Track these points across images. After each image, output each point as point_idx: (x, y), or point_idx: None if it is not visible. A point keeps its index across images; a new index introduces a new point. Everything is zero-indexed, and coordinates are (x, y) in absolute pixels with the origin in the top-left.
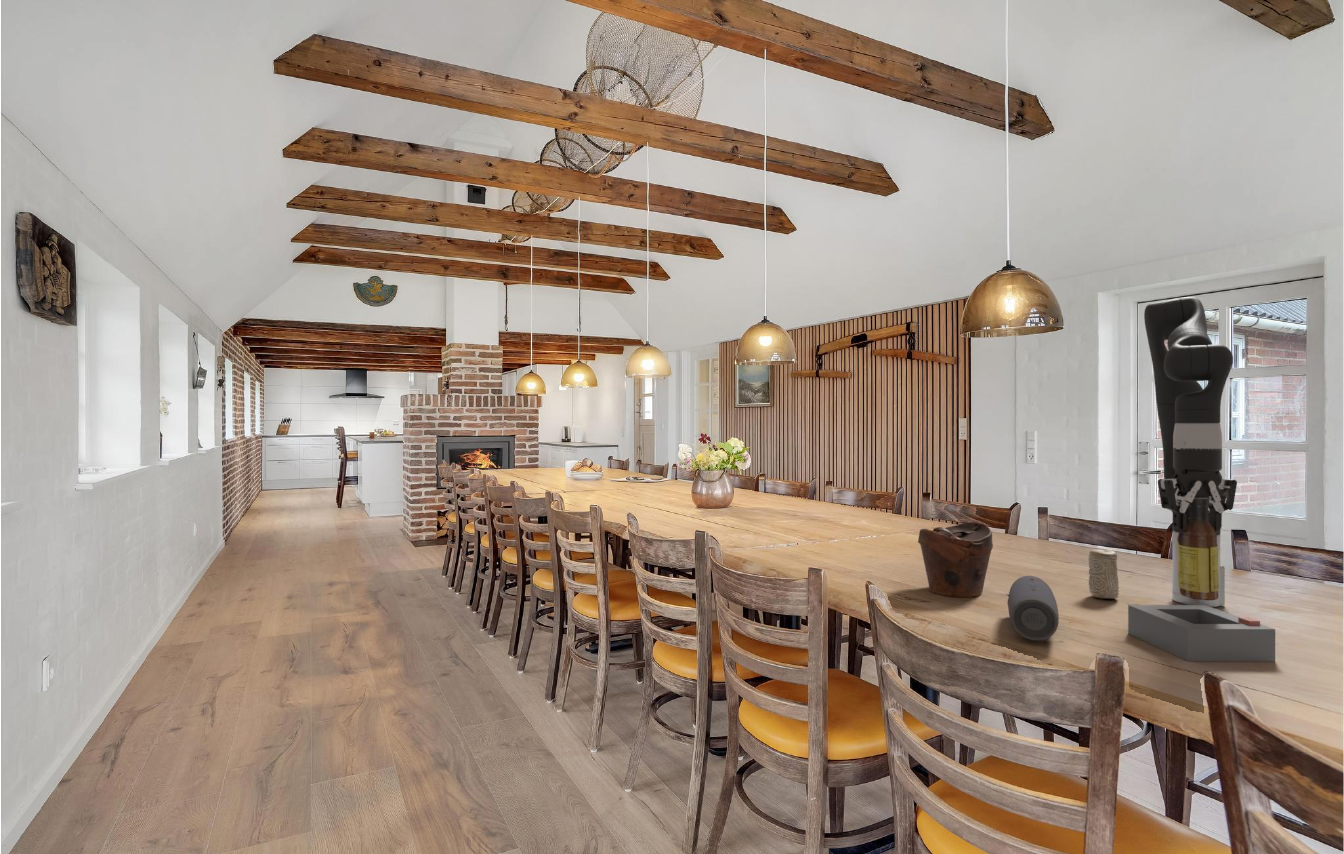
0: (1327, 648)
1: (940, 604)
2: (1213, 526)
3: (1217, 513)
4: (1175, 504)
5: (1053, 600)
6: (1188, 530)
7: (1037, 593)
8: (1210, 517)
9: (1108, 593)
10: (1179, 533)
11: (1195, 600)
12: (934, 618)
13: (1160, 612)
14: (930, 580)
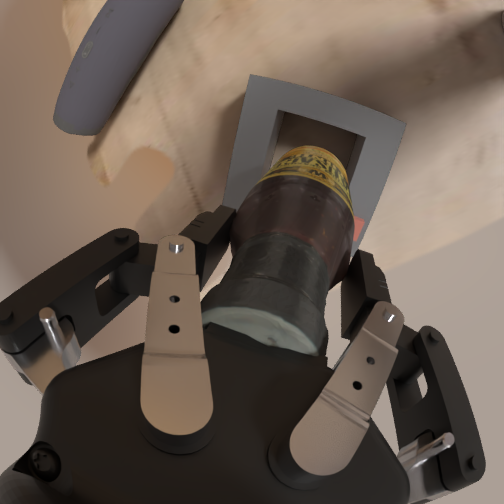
0: (469, 229)
1: None
2: (347, 284)
3: (349, 337)
4: (126, 301)
5: (98, 92)
6: (232, 253)
7: (68, 102)
8: (356, 295)
9: None
10: (239, 209)
11: None
12: (70, 19)
13: (264, 129)
14: None
